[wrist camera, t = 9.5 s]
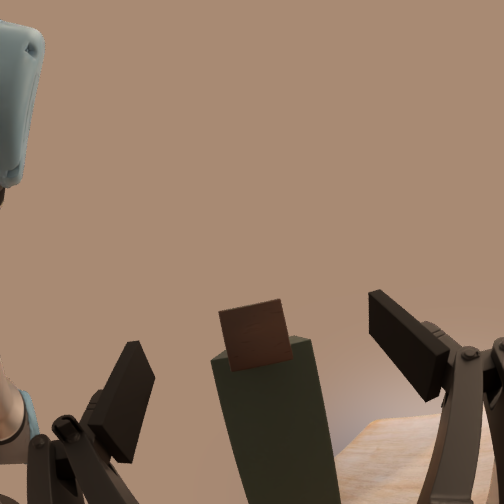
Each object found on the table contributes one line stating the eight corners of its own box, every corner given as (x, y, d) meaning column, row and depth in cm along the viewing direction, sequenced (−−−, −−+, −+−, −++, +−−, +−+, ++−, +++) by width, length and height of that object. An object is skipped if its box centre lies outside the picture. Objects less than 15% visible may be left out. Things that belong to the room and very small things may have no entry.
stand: (274, 573, 15) (210, 360, 21) (271, 528, 24) (224, 350, 31) (347, 557, 15) (310, 339, 22) (330, 515, 25) (294, 335, 31)
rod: (230, 372, 13) (218, 311, 14) (247, 344, 34) (242, 320, 35) (293, 359, 13) (280, 298, 14) (271, 339, 34) (266, 315, 35)
